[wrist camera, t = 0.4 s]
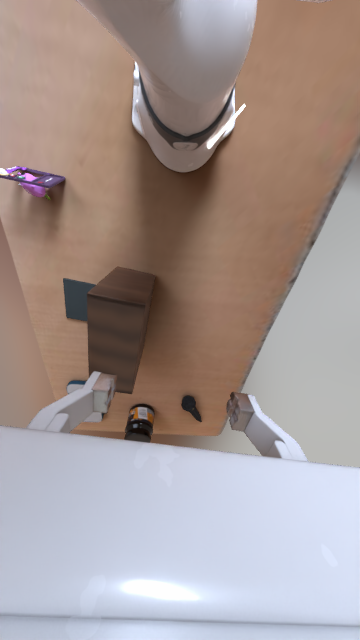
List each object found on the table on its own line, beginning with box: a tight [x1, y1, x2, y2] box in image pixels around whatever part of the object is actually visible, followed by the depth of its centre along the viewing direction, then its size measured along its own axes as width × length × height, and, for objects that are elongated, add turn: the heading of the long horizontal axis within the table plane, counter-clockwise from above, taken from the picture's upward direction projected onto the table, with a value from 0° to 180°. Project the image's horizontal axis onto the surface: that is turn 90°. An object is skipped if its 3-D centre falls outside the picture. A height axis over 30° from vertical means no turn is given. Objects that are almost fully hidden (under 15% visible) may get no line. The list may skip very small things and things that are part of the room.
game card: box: [0, 166, 65, 200], centre depth 36 cm, size 7×5×9 cm
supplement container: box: [124, 404, 155, 443], centre depth 72 cm, size 10×10×12 cm
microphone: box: [181, 396, 202, 422], centre depth 75 cm, size 6×6×20 cm
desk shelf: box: [87, 267, 156, 394], centre depth 45 cm, size 24×10×18 cm, turn 167°
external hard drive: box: [67, 381, 104, 422], centre depth 72 cm, size 24×12×2 cm, turn 173°
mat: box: [63, 278, 96, 321], centre depth 51 cm, size 12×10×1 cm
